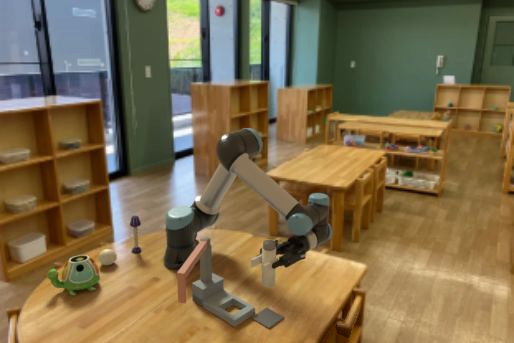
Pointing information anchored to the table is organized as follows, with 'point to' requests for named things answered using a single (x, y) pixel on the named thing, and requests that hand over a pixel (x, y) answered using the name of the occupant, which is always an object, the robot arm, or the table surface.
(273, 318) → the mat
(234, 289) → the table surface
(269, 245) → the bottle
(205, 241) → the pink bent bar
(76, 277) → the turtle holder
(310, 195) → the robot arm
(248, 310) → the dock
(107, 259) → the cream oval egg shape
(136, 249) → the toy lamp
